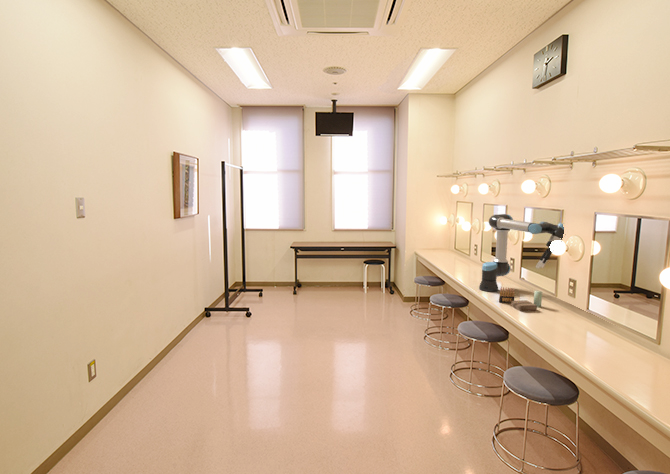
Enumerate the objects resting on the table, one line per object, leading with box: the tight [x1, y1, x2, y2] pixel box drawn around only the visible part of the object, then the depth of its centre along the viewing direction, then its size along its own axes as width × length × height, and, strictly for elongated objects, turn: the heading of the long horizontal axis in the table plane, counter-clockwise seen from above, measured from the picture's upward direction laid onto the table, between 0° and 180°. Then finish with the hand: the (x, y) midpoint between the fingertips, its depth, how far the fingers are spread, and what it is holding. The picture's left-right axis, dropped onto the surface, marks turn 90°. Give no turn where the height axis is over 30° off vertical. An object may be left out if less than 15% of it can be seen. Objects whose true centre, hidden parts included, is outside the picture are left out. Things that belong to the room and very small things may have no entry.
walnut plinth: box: [510, 300, 538, 312], centre depth 259 cm, size 12×12×4 cm
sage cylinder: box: [533, 290, 543, 308], centre depth 263 cm, size 5×5×11 cm
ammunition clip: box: [498, 286, 515, 304], centre depth 272 cm, size 11×2×12 cm, turn 82°
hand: (538, 267), depth 267 cm, fingers open, 13 cm apart
